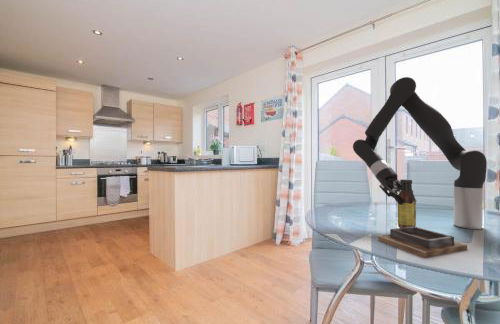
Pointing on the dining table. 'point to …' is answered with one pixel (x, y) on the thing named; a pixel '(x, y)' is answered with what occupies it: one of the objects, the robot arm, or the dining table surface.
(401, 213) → the sauce bottle
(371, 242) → the dining table surface
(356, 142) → the robot arm
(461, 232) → the dining table surface
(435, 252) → the walnut dock board
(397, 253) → the dining table surface
